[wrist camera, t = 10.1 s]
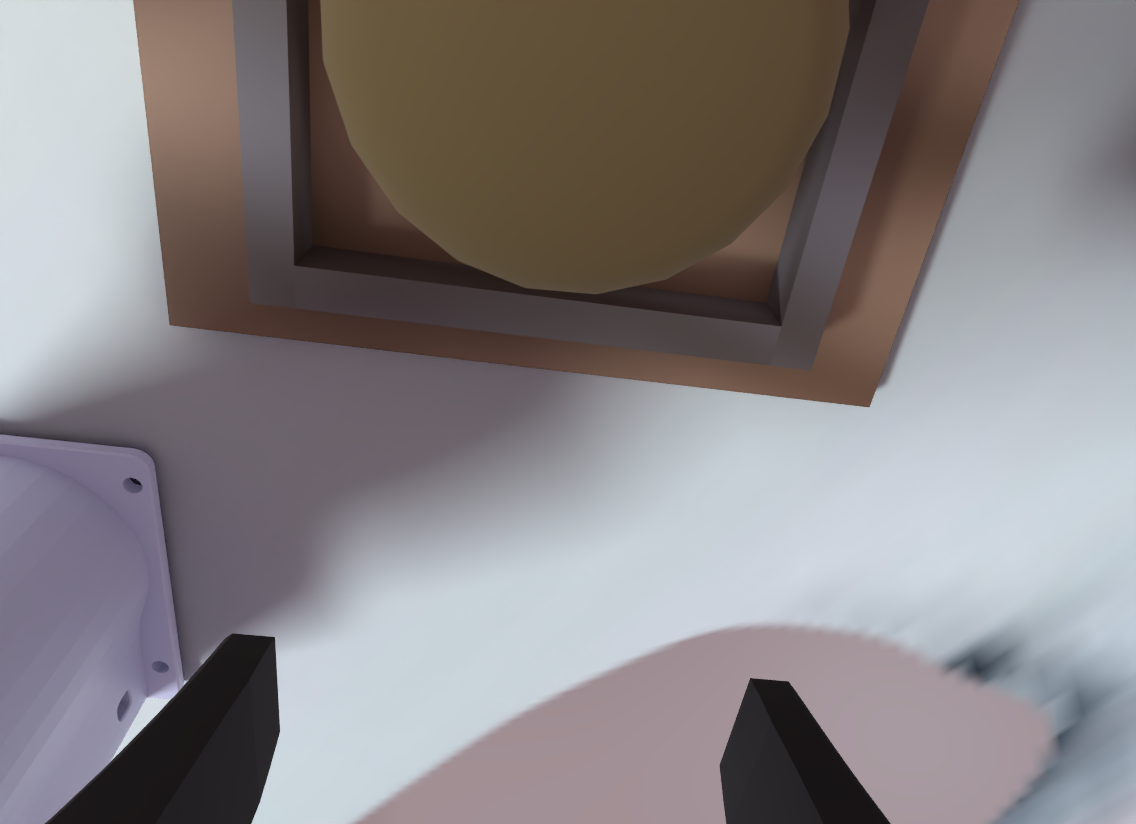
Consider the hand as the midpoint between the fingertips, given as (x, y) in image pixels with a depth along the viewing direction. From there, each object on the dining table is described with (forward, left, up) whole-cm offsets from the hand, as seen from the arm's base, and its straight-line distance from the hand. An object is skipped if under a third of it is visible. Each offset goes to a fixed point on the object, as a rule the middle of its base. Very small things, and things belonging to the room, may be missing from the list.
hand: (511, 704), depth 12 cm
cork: (+9, 0, -10) cm, 14 cm away
